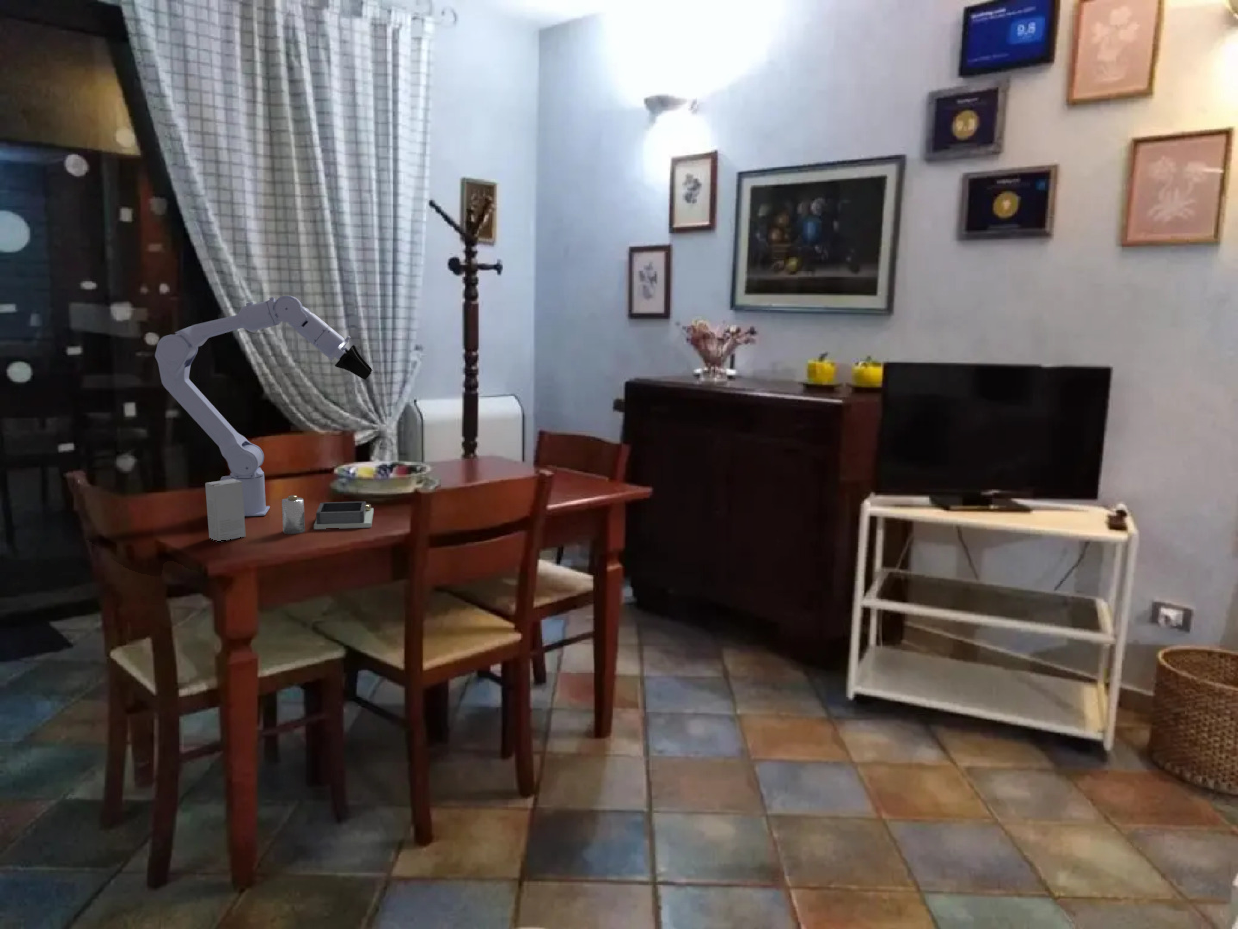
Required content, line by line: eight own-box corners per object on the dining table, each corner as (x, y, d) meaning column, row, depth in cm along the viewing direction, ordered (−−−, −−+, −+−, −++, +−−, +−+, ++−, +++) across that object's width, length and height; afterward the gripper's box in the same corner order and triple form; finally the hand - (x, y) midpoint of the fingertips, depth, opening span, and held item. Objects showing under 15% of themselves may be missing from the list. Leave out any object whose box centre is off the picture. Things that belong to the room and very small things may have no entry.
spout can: (281, 534, 184) (280, 498, 183) (285, 527, 190) (284, 492, 188) (303, 533, 185) (302, 498, 184) (306, 526, 191) (305, 491, 189)
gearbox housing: (314, 529, 189) (313, 513, 188) (320, 513, 202) (319, 499, 201) (371, 527, 191) (370, 512, 191) (373, 512, 205) (373, 497, 204)
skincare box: (236, 533, 184) (233, 477, 181) (246, 537, 181) (243, 481, 179) (207, 538, 179) (203, 481, 177) (217, 543, 176) (214, 485, 174)
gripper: (330, 323, 191) (379, 364, 195) (335, 321, 204) (381, 359, 208) (309, 347, 190) (358, 388, 194) (315, 344, 204) (362, 381, 208)
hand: (369, 375), depth 201 cm, fingers open, 7 cm apart
